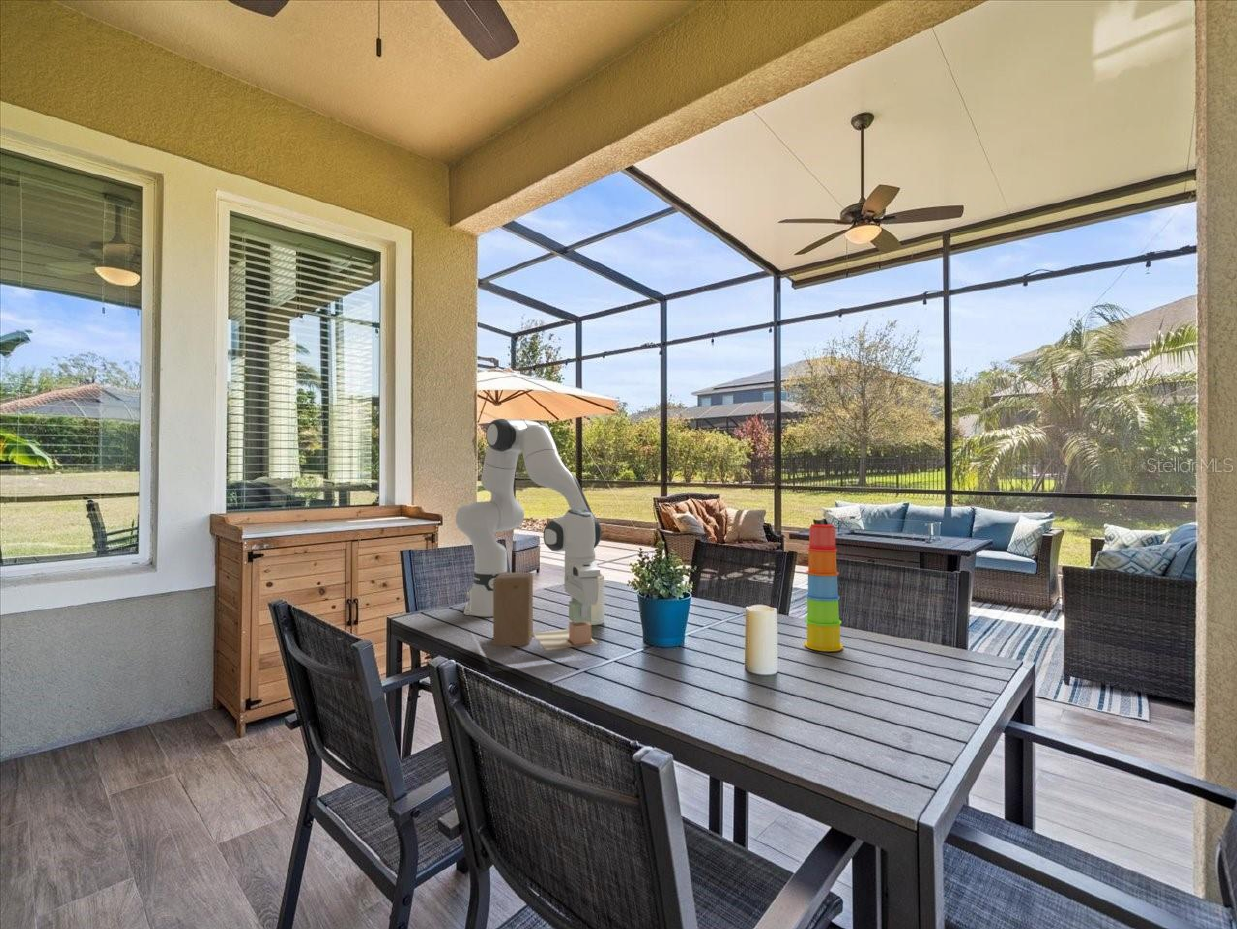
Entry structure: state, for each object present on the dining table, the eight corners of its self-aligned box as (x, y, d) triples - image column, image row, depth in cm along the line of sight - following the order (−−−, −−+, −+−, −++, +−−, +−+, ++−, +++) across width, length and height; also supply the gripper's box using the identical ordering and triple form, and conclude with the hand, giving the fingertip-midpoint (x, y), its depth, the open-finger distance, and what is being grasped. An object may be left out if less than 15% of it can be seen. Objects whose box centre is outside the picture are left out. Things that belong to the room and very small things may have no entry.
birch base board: (531, 637, 175) (531, 633, 175) (579, 631, 181) (579, 627, 181) (546, 654, 159) (546, 649, 159) (598, 647, 165) (598, 643, 165)
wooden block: (528, 649, 163) (528, 578, 163) (492, 650, 163) (492, 578, 163) (533, 639, 173) (533, 571, 173) (499, 639, 173) (499, 572, 173)
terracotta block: (569, 639, 169) (569, 622, 169) (585, 637, 170) (585, 620, 170) (574, 644, 164) (574, 626, 164) (591, 642, 166) (591, 624, 166)
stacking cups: (797, 646, 165) (796, 524, 165) (816, 639, 172) (815, 522, 172) (831, 655, 158) (830, 527, 158) (849, 647, 165) (849, 524, 165)
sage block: (569, 618, 169) (569, 601, 169) (585, 617, 170) (585, 599, 170) (574, 623, 164) (574, 605, 164) (591, 621, 166) (591, 603, 166)
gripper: (559, 561, 176) (559, 607, 176) (580, 573, 157) (580, 624, 157) (579, 559, 178) (579, 605, 178) (602, 571, 159) (602, 622, 159)
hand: (580, 614), depth 167 cm, fingers closed on sage block, 5 cm apart
